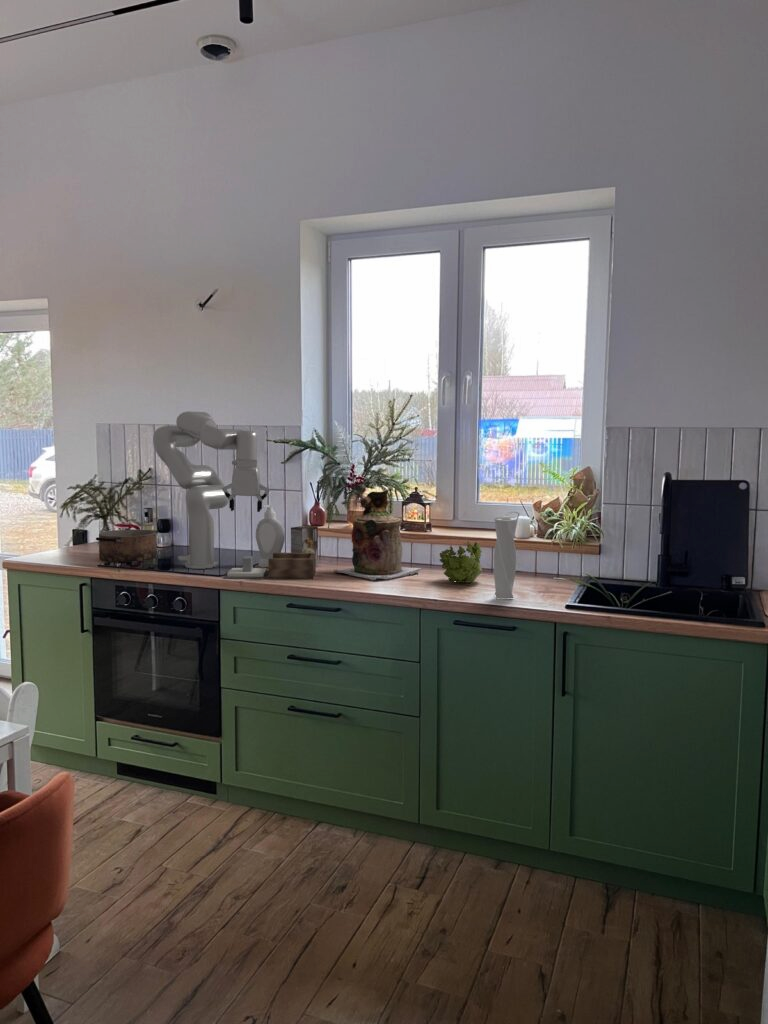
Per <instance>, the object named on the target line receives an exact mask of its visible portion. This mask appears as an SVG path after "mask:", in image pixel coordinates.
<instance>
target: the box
mask: <svg viewBox="0 0 768 1024" xmlns="http://www.w3.org/2000/svg"><path fill="white" fill-rule="evenodd" d="M268 562H269V568H268V570H269V575H268V580H314V578H315V575H316V572H317V571H316V570H317V569H316V568H317V567H316V553H291V552H281V553H273V558H269V559H268Z"/></svg>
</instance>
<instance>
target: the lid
mask: <svg viewBox="0 0 768 1024" xmlns="http://www.w3.org/2000/svg"><path fill="white" fill-rule="evenodd" d="M253 559H254V557H253V556H252V555H244V556H243V557H242V567H231V569H229V571H228V572H227V574H226V575H227V577H264V575H265V574H266V573H267V570H268V568H267V567H254V560H253Z"/></svg>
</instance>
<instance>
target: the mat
mask: <svg viewBox="0 0 768 1024" xmlns="http://www.w3.org/2000/svg"><path fill="white" fill-rule="evenodd" d="M268 577H269V569H267V573H266V574H265V575H264V577H227V574H226V575H225V576H224V577H223V579H224V580H225V579H228V580H231V579H234V580H238V579H240V580H241V579H242V580H243V579H245V580H266V579H267V578H268Z"/></svg>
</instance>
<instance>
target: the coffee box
mask: <svg viewBox="0 0 768 1024" xmlns="http://www.w3.org/2000/svg"><path fill="white" fill-rule="evenodd" d="M318 528H319V526H315V525H301V526H293V527H291V526H290V553H316V568H317V566H318V567H319V552H318V551H319V544H318V543H319V539H318V538H319V537H318V535H319V534H318V533H319V532H318V531H319V529H318Z"/></svg>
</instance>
